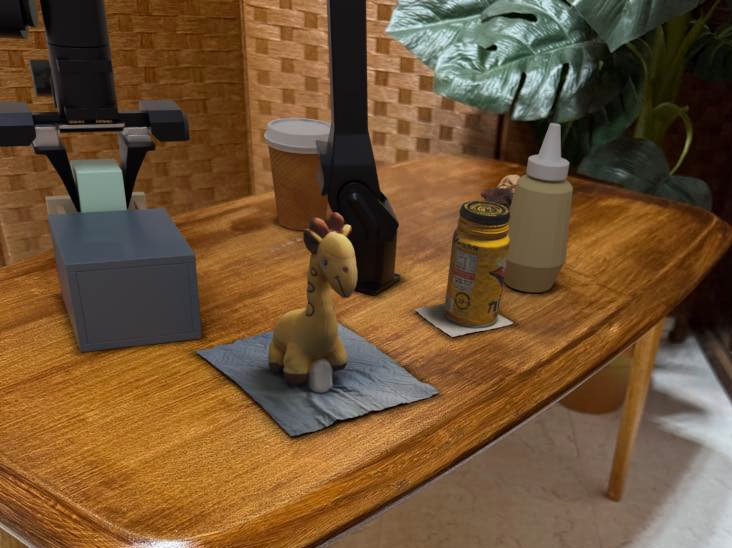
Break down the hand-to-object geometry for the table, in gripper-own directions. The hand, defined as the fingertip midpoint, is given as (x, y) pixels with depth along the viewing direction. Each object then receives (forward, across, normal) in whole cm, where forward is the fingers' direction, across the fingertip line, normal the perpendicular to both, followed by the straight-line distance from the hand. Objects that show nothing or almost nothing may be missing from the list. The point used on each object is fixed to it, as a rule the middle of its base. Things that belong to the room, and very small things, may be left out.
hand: (102, 209), depth 90 cm
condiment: (+8, -34, +20) cm, 41 cm away
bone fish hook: (+8, -60, -12) cm, 61 cm away
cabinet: (+7, 0, +11) cm, 13 cm away
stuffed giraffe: (+8, -14, +28) cm, 32 cm away
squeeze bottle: (+8, -47, +13) cm, 49 cm away
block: (+1, 0, 0) cm, 1 cm away
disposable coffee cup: (+8, -27, -13) cm, 31 cm away
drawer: (+6, 0, -1) cm, 7 cm away
